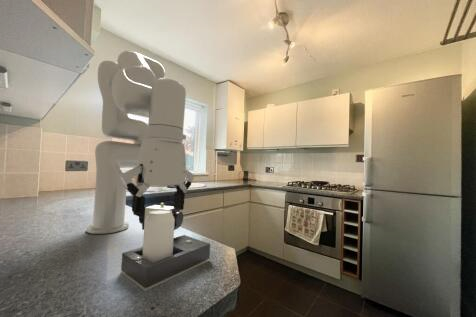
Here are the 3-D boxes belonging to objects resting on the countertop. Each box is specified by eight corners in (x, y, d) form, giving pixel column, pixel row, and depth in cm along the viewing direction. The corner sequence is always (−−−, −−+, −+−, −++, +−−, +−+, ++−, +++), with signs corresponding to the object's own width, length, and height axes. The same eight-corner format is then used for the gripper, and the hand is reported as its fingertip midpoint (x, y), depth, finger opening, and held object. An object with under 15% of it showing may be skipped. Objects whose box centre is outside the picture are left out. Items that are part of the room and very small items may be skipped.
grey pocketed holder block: (120, 272, 41) (122, 251, 41) (183, 249, 54) (184, 234, 54) (145, 291, 35) (146, 267, 35) (209, 260, 48) (210, 243, 48)
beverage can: (135, 272, 40) (138, 213, 41) (151, 259, 46) (154, 208, 47) (163, 275, 39) (166, 215, 40) (176, 261, 45) (179, 209, 46)
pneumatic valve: (174, 250, 53) (176, 205, 54) (136, 246, 55) (139, 203, 56) (183, 243, 58) (185, 202, 59) (149, 239, 61) (151, 200, 62)
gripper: (186, 141, 54) (181, 204, 53) (117, 130, 40) (109, 214, 39) (205, 140, 49) (200, 209, 48) (134, 127, 35) (126, 223, 35)
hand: (160, 211), depth 44 cm, fingers open, 9 cm apart
